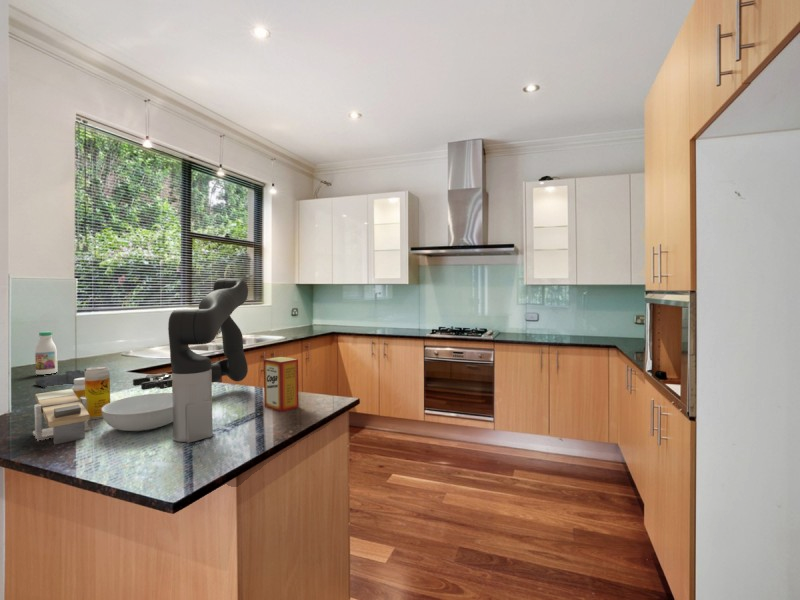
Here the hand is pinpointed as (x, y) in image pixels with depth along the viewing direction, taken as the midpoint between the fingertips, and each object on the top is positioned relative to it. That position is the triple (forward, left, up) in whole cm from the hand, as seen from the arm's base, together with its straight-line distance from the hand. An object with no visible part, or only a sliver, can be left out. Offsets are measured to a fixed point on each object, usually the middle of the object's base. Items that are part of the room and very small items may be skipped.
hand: (137, 384), depth 131 cm
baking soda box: (-34, -32, -8) cm, 47 cm away
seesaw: (-9, +20, -1) cm, 22 cm away
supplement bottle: (+16, +12, -8) cm, 21 cm away
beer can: (0, +10, -8) cm, 13 cm away
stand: (-12, +21, -8) cm, 25 cm away
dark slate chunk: (+70, +6, -9) cm, 71 cm away
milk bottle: (+99, +10, -8) cm, 100 cm away
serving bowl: (-21, +4, -8) cm, 23 cm away
